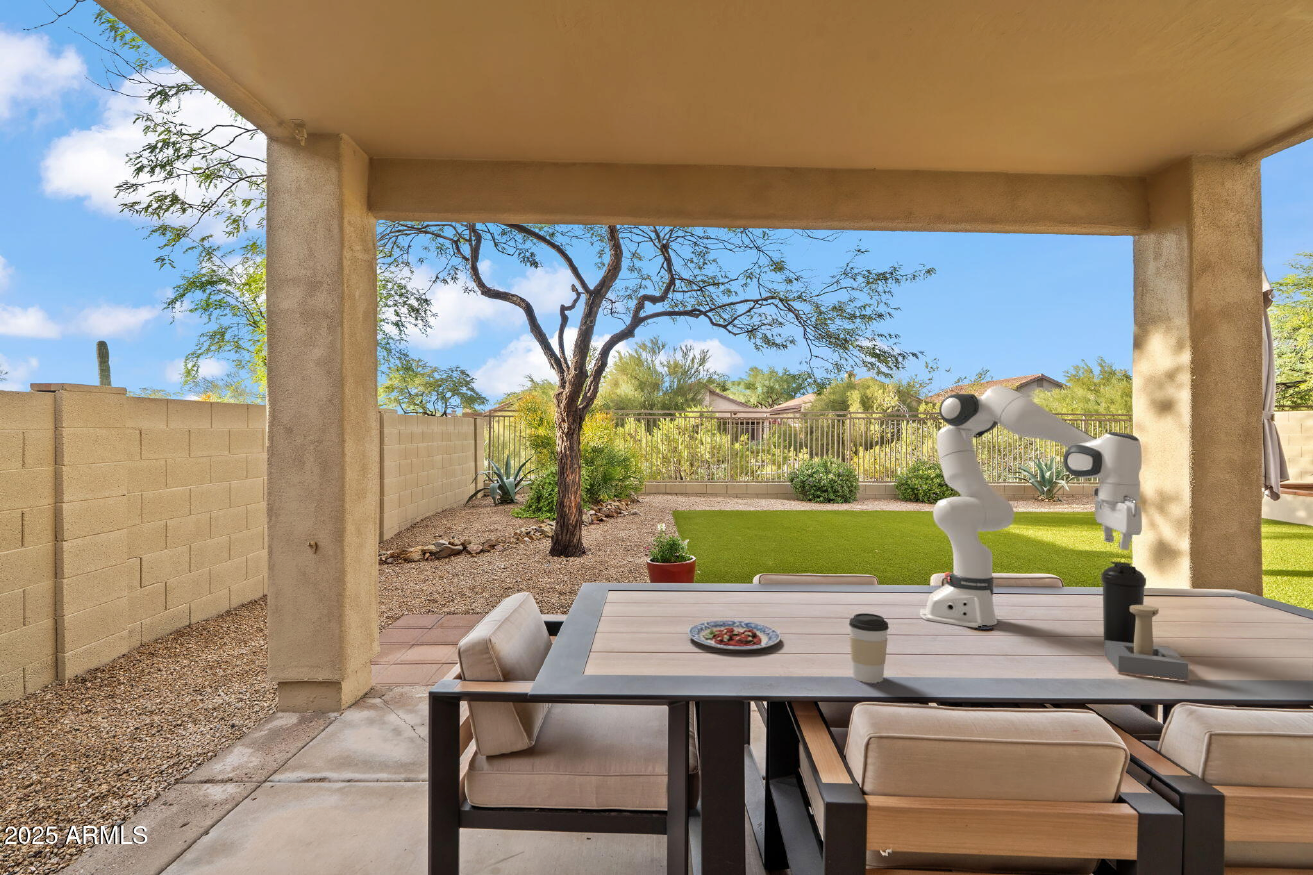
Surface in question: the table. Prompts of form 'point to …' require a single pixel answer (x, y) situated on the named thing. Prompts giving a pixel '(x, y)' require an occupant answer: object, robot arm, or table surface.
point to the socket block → (1146, 661)
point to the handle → (1143, 628)
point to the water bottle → (1121, 601)
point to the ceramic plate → (734, 634)
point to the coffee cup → (868, 647)
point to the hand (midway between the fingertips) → (1116, 545)
